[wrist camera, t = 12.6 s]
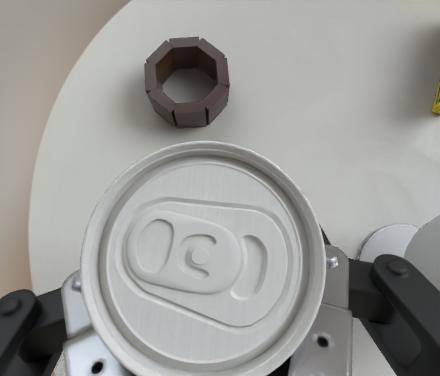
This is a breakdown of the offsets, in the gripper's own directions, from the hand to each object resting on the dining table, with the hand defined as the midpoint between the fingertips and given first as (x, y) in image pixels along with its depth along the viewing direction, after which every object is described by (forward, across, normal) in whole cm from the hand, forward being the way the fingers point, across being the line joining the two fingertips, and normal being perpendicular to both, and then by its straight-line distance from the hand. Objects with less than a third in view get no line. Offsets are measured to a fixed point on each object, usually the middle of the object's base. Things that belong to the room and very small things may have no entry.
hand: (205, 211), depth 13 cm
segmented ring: (+30, +1, +3) cm, 30 cm away
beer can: (+5, 0, +7) cm, 9 cm away
